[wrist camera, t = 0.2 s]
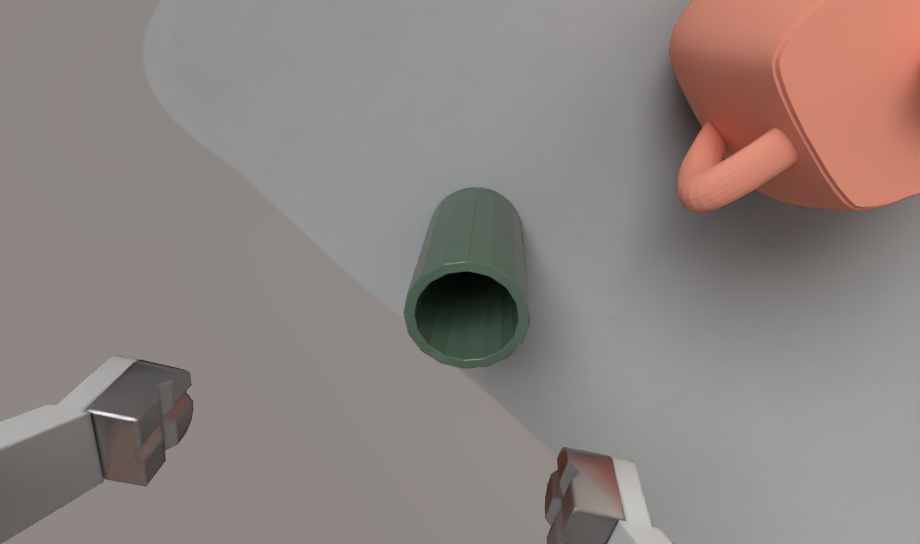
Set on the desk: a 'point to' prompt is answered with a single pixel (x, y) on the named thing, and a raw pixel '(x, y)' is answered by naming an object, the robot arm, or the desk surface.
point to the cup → (470, 282)
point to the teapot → (800, 101)
